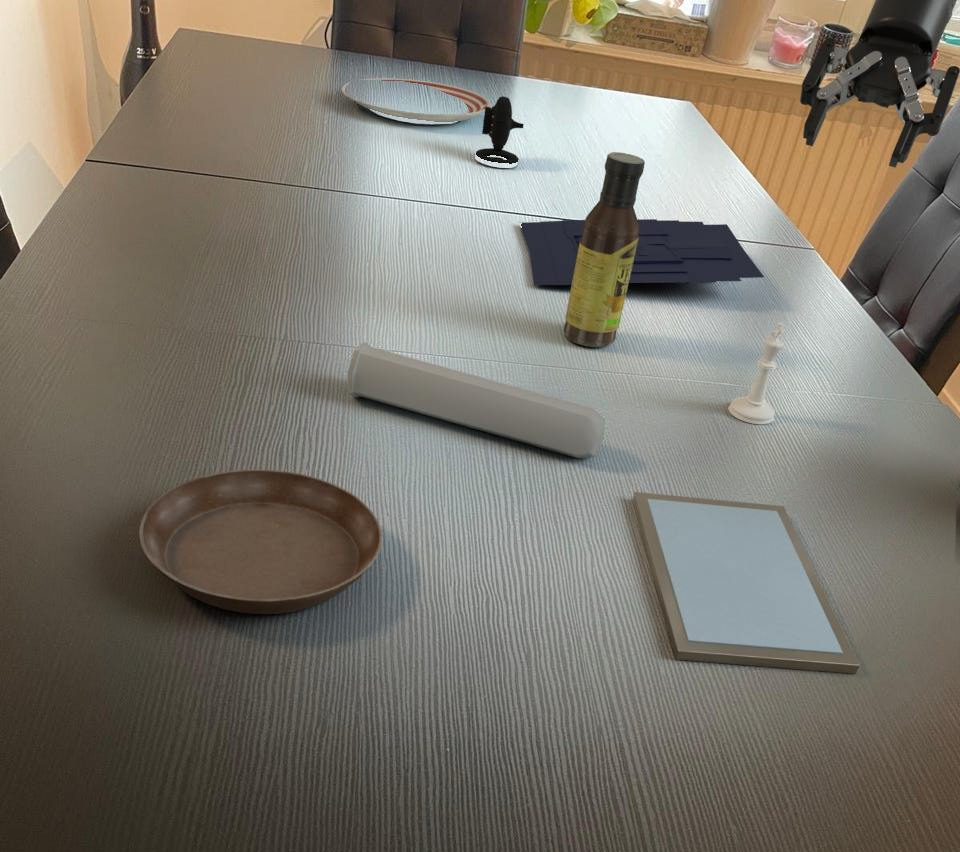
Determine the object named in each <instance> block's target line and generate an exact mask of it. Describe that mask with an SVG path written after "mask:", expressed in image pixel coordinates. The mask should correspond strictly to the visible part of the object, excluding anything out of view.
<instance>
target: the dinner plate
mask: <svg viewBox="0 0 960 852" xmlns="http://www.w3.org/2000/svg"><path fill="white" fill-rule="evenodd" d="M361 80H382V81H405V82H410V83H418V84H423V85H428V86H431V87H432V88H435V89H437V90H439V91H442V92H444V93H446V94H449V95H452V96H455V97H457V98H458V99H460V100H462V101H463V102H464V103H465V104H466V105H467V107H468V111H467V113H463V114H424V113H413V112H405V111H399V110H393V109H388V108H383V107H378V106H374V105H371V104H367V103H364V102H362V101H359V100H357V99H354V98H352V97H350V96H349V95H348V94H347V92H346V86H347V85H348V84H349V83H350V82H351V81H350V82H346V83H345V84H343V86H341V93H342V94H343V95H344V96H345V97H347V98H348V99H350V100H351V101H352V100H353V101H352V102H354V101H355V102H356V103H355V102H354V103H355V104H357V103H358V104H360V105H362V106H365V107H367V108H369V109H372V110H375V111H378V112H381V113H384V114H387V115H392V116H396V117H403V118H408V119H417V120H426V121H434V122H454V121H461V122H463V121H467V120H471V119H474V118H477V117H479V116H481V115H484V114H485V107H492V106H491V101H490V100H489V99H488V98H486V97H485V96H484V95H482V94H480V93H478V92H475V91H473V90H469V89H466V88H462V87H459V86H454V85H452V84H451V85H450V84H445V83H440V82H434V81H427V80H419V79H409V78H398V77H397V78H394V77H376V78H375V77H374V78H373V77H372V78H363V79H362V78H361ZM358 104H357V105H358ZM360 105H359V106H360ZM362 106H361V107H362ZM462 120H463V121H462Z"/></svg>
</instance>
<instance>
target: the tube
mask: <svg viewBox="0 0 960 852" xmlns="http://www.w3.org/2000/svg"><path fill="white" fill-rule="evenodd" d="M346 393H348V394H349V395H350V396H352V398H357V399H359V398H365V399H369V400H372V401H375V402H379V403H382V404H386V405H389V406H392V407H396V408H400V409H402V410H403V409H404V410H407V411H410V412H414V413H416V414H417V413H418V414H421V415H424V416H428V417H431V418H435V419H438V420H441V421H446V422H449V423H452V424H456V425H458V426H459V425H460V426H463V427H466V428H469V429H474V430H478V431H481V432H484V433H487V434H491V435H495V436H498V437H502V438H505V439H507V440H508V439H509V440H513V441H516V442H519V443H522V444H526V445H528V446H529V445H530V446H533V447H536V448H540V449H544V450H547V451H550V452H554V453H557V454H560V455H565V456H569V457H570V458H571V457H572V458H575V459H577V460H578V459H579V460H581V459H585V458H586V459H587V458H591V457H595V455H596V454H597V452H598V450H599V448H600V446H601V444H602V443H603V441H604V439H605V417H603V416H602V414H600V413H599V411H597V410H595V408H593V407H589V406H586V405H583V404H578V403H575V402H573V401H568V400H565V399H562V398H557V397H554V396H551V395H546V394H543V393H539V392H535V391H532V390H529V389H525V388H521V387H517V386H515V385H511V384H507V383H503V382H499V381H496V380H492V379H489V378H485V377H482V376H478V375H474V374H470V373H467V372H463V371H459V370H456V369H453V368H449V367H445V366H441V365H438V364H434V363H430V362H427V361H423V360H420V359H417V358H413V357H409V356H406V355H402V354H398V353H394V352H391V351H388V350H384V349H380V348H377V347H373V346H371V345H370V344H369V343H367V342H364V341H363V342H362V343H360V345H358V346H357V347H356V348H355V349H354V350H353V352H352V357H351V360H350V363H349V366H348V369H347V381H346Z"/></svg>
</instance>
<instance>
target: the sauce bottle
mask: <svg viewBox="0 0 960 852" xmlns="http://www.w3.org/2000/svg"><path fill="white" fill-rule="evenodd" d="M645 164H646V162H645V160H644V159H643V158H641V157H639V156H637V155H634V154H630V153H626V152H619V151H618V152H617V151H613V152H610V153H608V154H607V156H606V160H605V163H604V172H605V173H604V178H603V184H602V188H601V191H600V194H599V201H598V202H597V203H596V204H595V205H594V207H592V209H590V212H589V213H588V214H587V215H586V217H585V219H584V220H585V223H584V228H583V234H582V239H581V240H580V244H579V250H578V255H577V260H576V265H575V270H574V275H573V281H572V285H570V286H571V287H570V291H569V297H568V302H567V307H566V312H565V314H566V315H565V323H564V326H563V334H564V337H565V338H566V339H567V340H569V341H570V342H571V343H574V344H578V345H581V346H585V347H590V348H605V347H607V346H609V345H611V344H612V343H614V342H615V341H616V338H617V331H618V330H619V328H620V325H621V319H622V315H623V311H624V305H625V301H626V296H627V292H628V287H629V284H630V283H629V279H630V275H631V271H632V265H633V261H634V256H635V252H636V248H637V243H638V238H639V235H638V234H639V223H638V221H637V219H638V217H637V214H636V210H635V208H634V206H635V204H636V200H637V193H638V189H639V185H640V180H641V178H642V176H643V174H644V170H645Z"/></svg>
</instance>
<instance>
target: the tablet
mask: <svg viewBox="0 0 960 852" xmlns="http://www.w3.org/2000/svg"><path fill="white" fill-rule="evenodd" d="M632 504H633V508H634V511H635V515H636V518H637V522H638V526H639V530H640V533H641V537H642V541H643V545H644V548H645V552H646V556H647V560H648V562H649V566H650V571H651V573H652V579H653V581H654V585H655V589H656V592H657V593H656V594H657V596H658V600H659V604H660V608H661V611H662V615H663V618H664V623H665V626H666V629H667V634H668V638H669V641H670V644H671V648H672V653H673V656H674V660H675V661H686V662H687V661H689V662H702V663H711V664H712V663H715V664H725V665H727V664H728V665H739V666H751V667H764V668H777V669H778V668H779V669H789V670H802V671H815V672H826V673H827V672H828V673H839V674H851V675H853V674H854V675H856V674H857V672H858V670H859V667H860V663H859V661H858V659H857V656H856V654H855V653H854V651H853V648H852V647H851V644H850V642H849V639H848V638H847V636H846V634H845V631H844V629H843V627H842V625H841V623H840V621H839V619H838V617H837V614H836V613H835V611H834V609H833V606H832V604H831V602H830V600H829V598H828V596H827V593H826V592H825V590H824V588H823V586H822V583H821V581H820V579H819V577H818V575H817V573H816V571H815V568H814V566H813V564H812V562H811V560H810V559H809V556H808V553H807V552H806V550H805V547H804V545H803V543H802V541H801V539H800V537H799V535H798V533H797V531H796V529H795V526H794V525H793V522H792V520H791V518H790V516H789V514H788V512H787V509H786V508H785V506H784V505H776V504H765V503H754V502H744V501H734V500H725V499H724V500H723V499H713V498H704V497H702V498H701V497H693V496H681V495H672V494H671V495H670V494H663V493H661V494H659V493H651V492H642V491H641V492H639V491H634V492H633V496H632Z"/></svg>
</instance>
